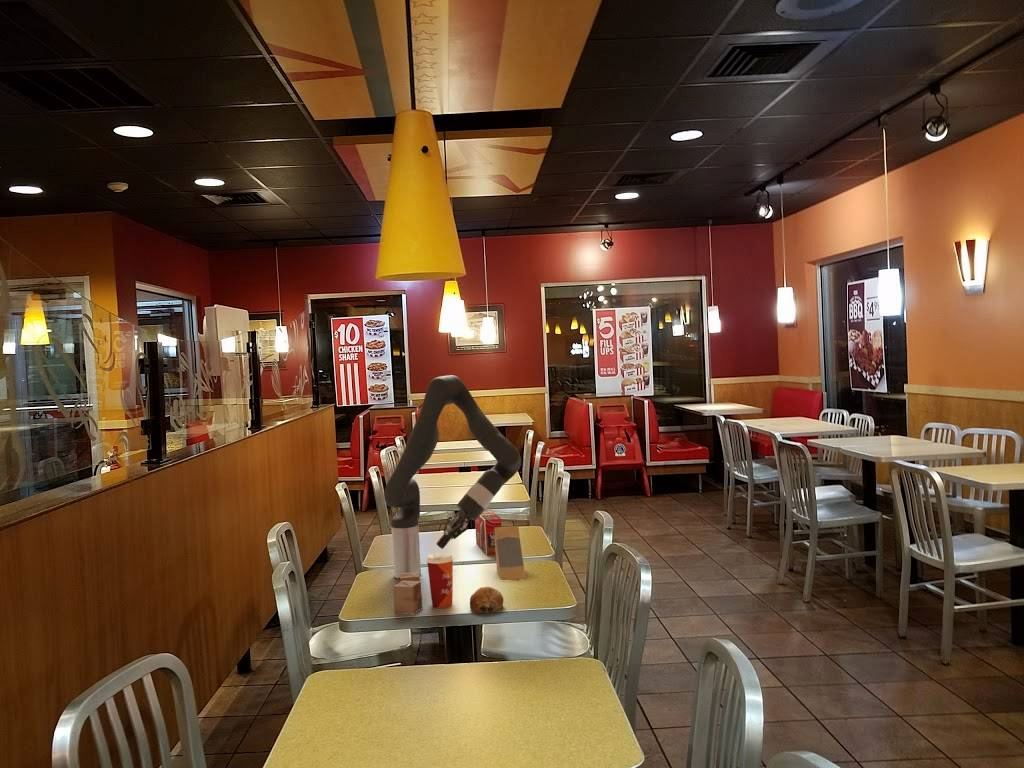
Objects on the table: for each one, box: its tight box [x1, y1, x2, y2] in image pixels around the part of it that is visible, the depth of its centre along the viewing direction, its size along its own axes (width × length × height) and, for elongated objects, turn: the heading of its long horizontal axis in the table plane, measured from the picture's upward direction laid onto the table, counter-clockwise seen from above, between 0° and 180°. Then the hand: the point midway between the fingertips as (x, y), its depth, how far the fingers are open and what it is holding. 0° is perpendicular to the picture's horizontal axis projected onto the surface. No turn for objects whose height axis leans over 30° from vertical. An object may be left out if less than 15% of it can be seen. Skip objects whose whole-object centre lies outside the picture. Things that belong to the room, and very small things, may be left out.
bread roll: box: [469, 586, 504, 614], centre depth 240 cm, size 10×10×8 cm
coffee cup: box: [425, 552, 455, 609], centre depth 245 cm, size 8×8×15 cm
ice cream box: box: [474, 509, 502, 556], centre depth 316 cm, size 20×6×13 cm, turn 13°
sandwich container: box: [494, 525, 527, 581], centre depth 276 cm, size 9×15×15 cm, turn 6°
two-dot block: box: [399, 572, 421, 583], centre depth 252 cm, size 6×6×8 cm
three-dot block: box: [392, 580, 423, 614], centre depth 242 cm, size 6×6×8 cm
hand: (439, 546), depth 245 cm, fingers closed
